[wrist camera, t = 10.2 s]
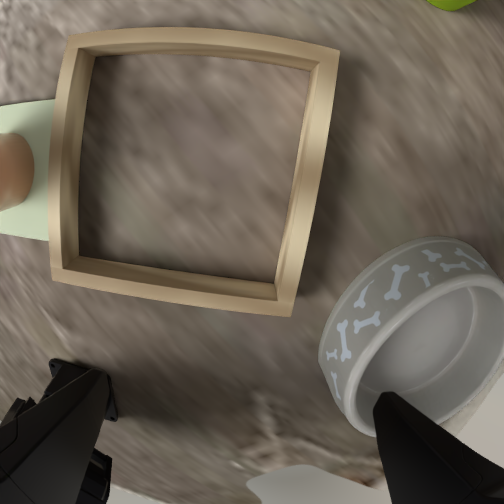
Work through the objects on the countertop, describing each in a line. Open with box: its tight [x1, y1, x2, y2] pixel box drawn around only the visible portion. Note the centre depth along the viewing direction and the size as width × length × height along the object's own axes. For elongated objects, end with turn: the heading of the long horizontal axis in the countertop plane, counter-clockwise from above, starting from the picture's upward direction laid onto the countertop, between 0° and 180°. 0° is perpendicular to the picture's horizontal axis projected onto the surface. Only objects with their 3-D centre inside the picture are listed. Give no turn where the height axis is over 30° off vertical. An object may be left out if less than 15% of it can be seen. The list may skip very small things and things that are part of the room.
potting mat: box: [0, 99, 55, 241], centre depth 17 cm, size 10×9×1 cm
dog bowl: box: [318, 236, 504, 437], centre depth 21 cm, size 17×18×5 cm
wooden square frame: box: [48, 27, 340, 317], centre depth 17 cm, size 16×16×2 cm
